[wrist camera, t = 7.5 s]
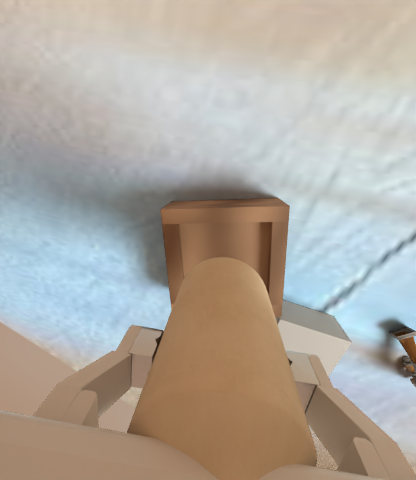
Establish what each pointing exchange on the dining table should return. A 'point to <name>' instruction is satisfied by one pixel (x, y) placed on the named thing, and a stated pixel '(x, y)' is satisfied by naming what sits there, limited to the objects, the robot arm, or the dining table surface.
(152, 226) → the dining table surface
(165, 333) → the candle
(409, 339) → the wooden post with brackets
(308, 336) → the grey block
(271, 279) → the square wooden tray
